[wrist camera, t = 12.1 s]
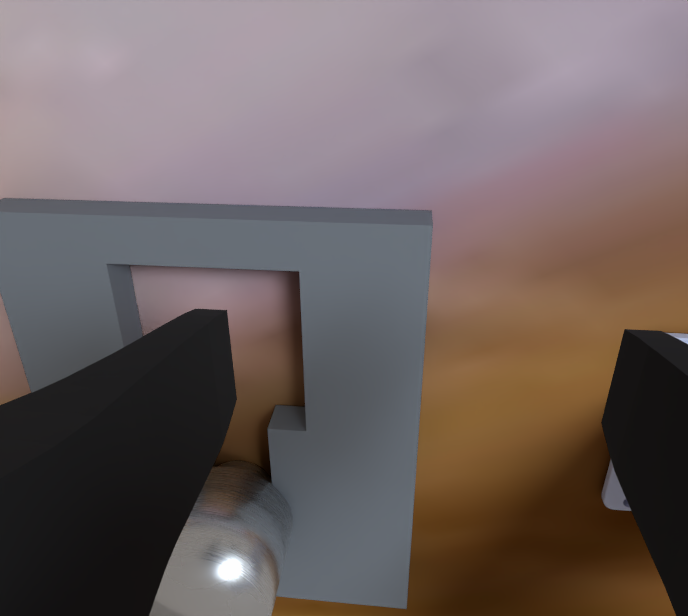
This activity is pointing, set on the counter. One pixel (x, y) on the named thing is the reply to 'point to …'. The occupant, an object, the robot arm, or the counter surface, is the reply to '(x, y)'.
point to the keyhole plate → (317, 339)
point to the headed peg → (228, 548)
